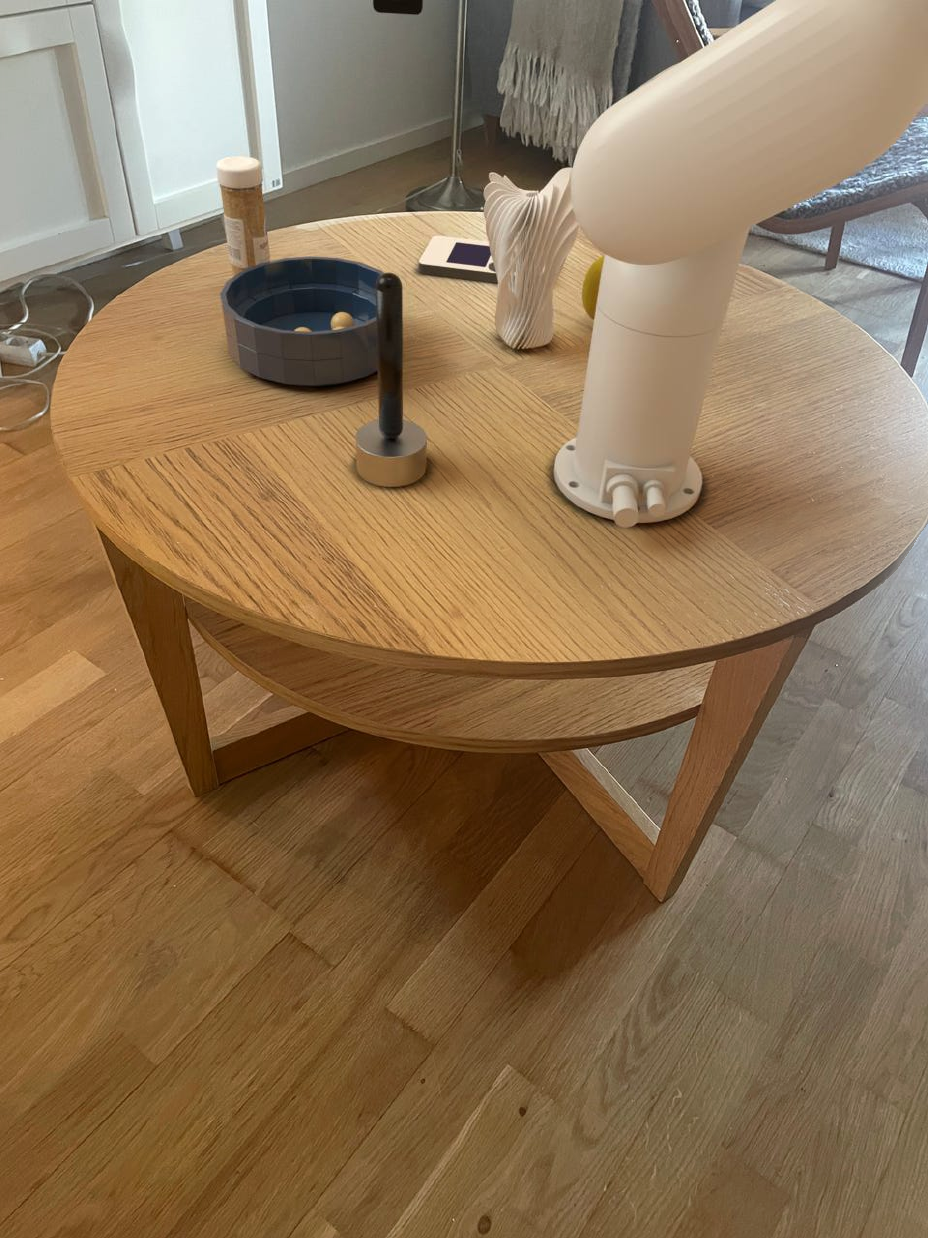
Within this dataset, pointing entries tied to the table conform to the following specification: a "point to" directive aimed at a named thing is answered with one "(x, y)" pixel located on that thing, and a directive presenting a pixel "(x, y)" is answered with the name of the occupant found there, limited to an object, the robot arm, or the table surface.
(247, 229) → the sprinkles bottle
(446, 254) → the handheld game console
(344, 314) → the bean
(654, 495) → the robot arm
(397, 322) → the weighted rod stand
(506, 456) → the table surface
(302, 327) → the bean
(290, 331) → the bowl
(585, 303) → the lemon
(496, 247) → the shell sculpture
